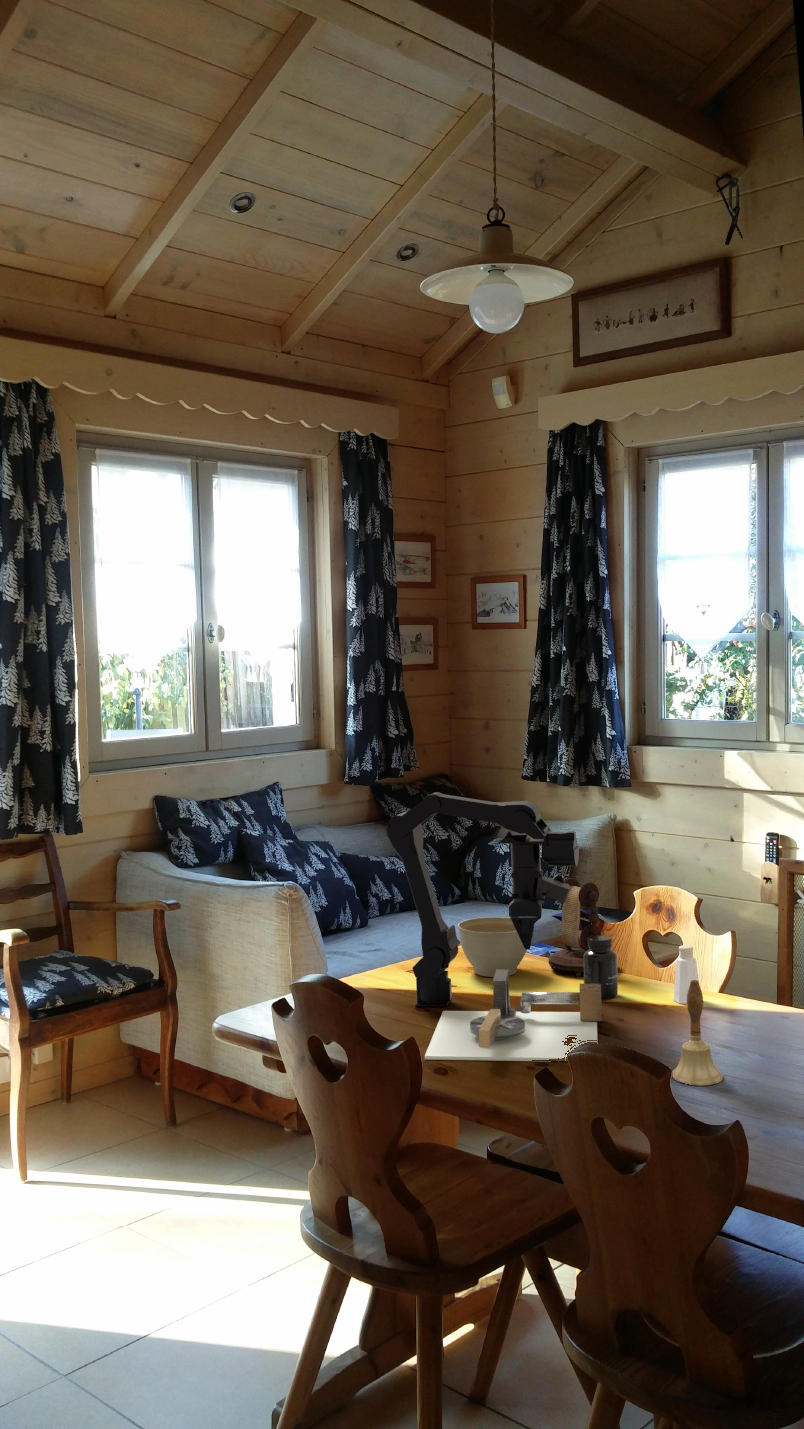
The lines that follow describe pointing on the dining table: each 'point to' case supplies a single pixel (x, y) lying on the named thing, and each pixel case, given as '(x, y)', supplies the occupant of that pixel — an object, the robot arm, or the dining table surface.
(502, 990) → the iron eye
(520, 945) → the planter bowl
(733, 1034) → the dining table surface
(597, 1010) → the wooden mallet
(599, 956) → the supplement bottle
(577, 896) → the brown upright piece
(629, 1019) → the dining table surface
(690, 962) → the pepper shaker
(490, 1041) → the handwheel
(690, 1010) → the hand bell
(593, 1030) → the white board
